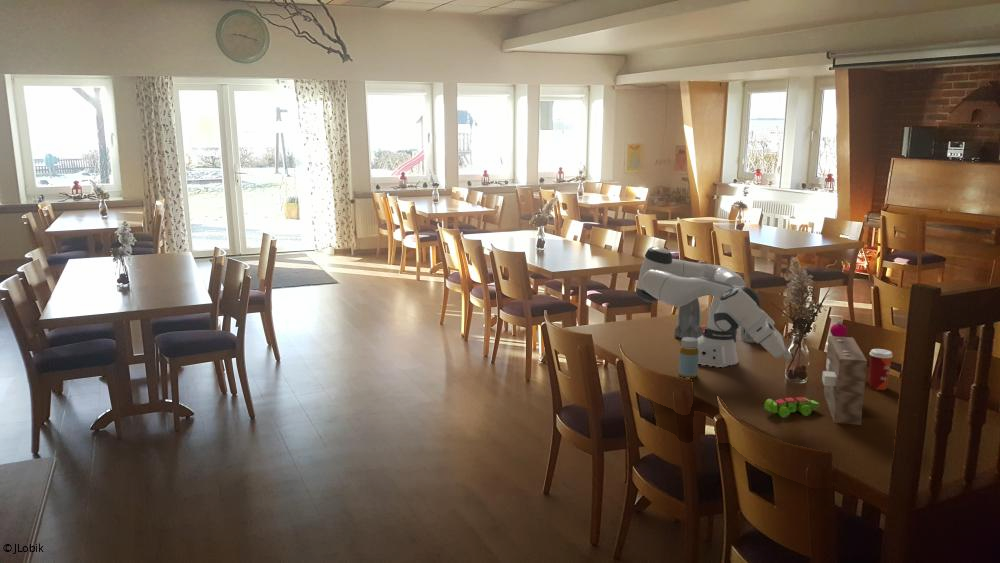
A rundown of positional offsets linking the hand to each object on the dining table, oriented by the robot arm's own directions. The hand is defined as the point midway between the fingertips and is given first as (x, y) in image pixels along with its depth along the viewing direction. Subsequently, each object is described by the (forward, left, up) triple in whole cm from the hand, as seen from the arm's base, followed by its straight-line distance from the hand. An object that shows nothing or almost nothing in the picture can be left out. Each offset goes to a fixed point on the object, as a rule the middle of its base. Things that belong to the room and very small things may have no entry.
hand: (789, 357), depth 244 cm
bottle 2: (-34, +29, -20) cm, 49 cm away
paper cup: (+34, +33, -20) cm, 52 cm away
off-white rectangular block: (+14, +1, -8) cm, 16 cm away
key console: (+18, +8, -20) cm, 28 cm away
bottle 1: (-36, +82, -20) cm, 92 cm away
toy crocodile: (+2, 0, -20) cm, 20 cm away
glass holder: (-10, +82, -20) cm, 85 cm away
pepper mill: (+22, +51, -20) cm, 59 cm away
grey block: (+17, +15, -8) cm, 24 cm away
